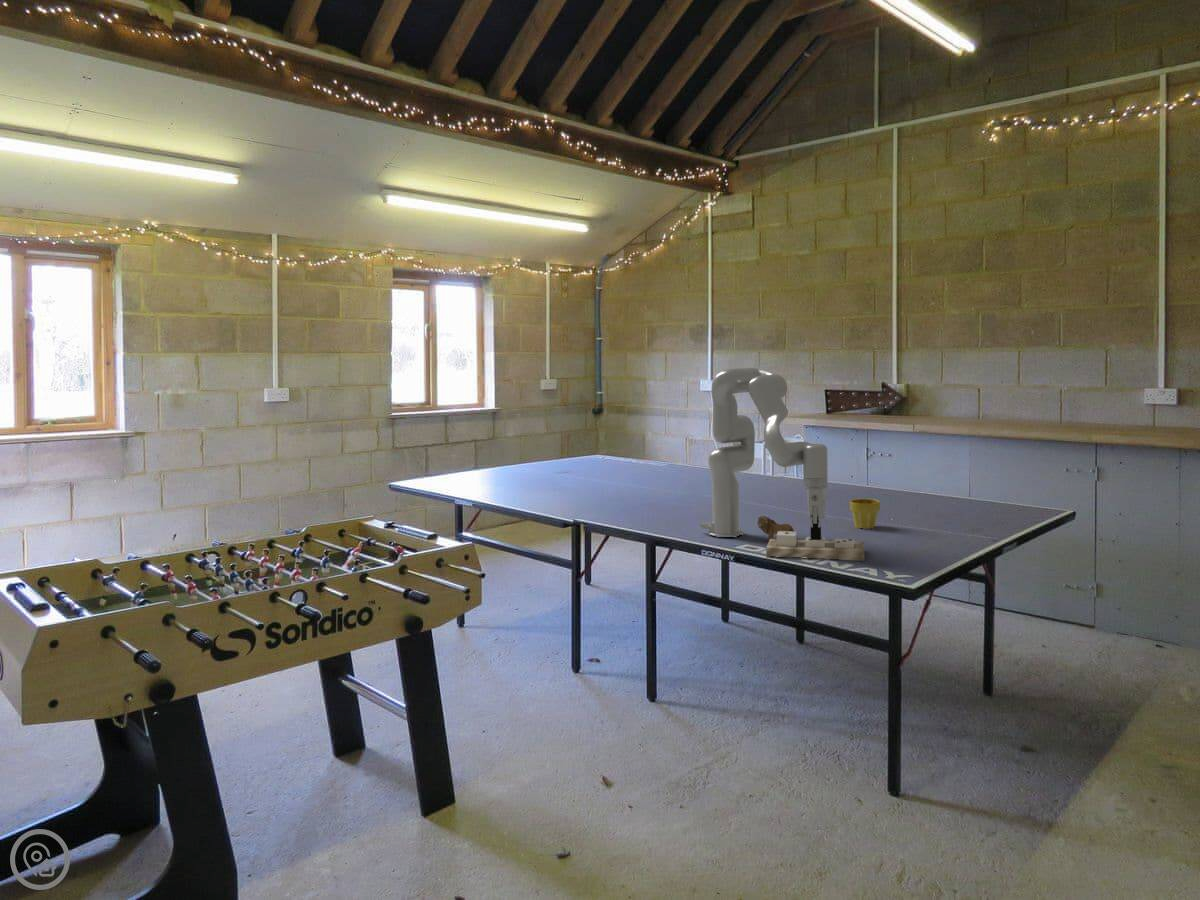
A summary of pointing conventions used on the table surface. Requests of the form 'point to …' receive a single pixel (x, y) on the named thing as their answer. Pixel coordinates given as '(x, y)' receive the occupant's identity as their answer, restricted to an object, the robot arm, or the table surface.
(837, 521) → the table surface
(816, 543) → the tile two
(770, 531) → the lion figurine
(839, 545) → the tile three
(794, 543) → the tile one
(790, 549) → the board
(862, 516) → the plant pot
